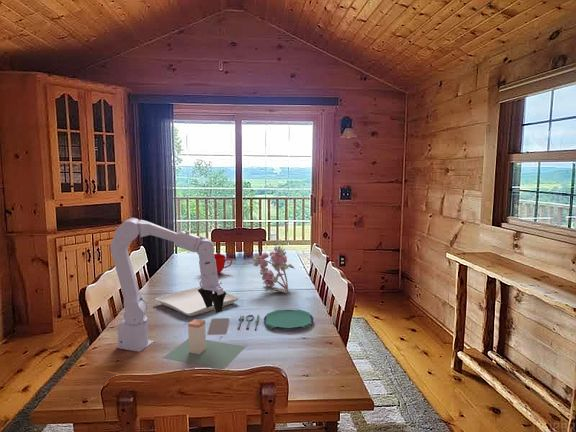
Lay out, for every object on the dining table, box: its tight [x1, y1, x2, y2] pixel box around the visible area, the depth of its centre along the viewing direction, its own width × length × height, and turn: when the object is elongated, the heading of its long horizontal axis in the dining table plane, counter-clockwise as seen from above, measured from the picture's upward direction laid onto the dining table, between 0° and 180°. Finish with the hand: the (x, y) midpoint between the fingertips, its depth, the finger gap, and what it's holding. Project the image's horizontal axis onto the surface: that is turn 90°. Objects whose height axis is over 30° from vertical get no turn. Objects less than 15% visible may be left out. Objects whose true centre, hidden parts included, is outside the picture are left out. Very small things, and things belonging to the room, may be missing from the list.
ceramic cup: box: [214, 253, 233, 275], centre depth 225 cm, size 13×17×10 cm
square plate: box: [154, 286, 240, 317], centre depth 176 cm, size 27×27×4 cm
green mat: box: [162, 338, 246, 370], centre depth 131 cm, size 22×16×1 cm
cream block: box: [187, 318, 207, 354], centre depth 131 cm, size 4×4×10 cm
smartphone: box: [206, 317, 231, 336], centre depth 152 cm, size 7×1×15 cm
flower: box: [249, 245, 296, 295], centre depth 196 cm, size 20×22×25 cm
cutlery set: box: [237, 309, 314, 331], centre depth 157 cm, size 20×30×2 cm, turn 90°
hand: (214, 309), depth 141 cm, fingers open, 7 cm apart
